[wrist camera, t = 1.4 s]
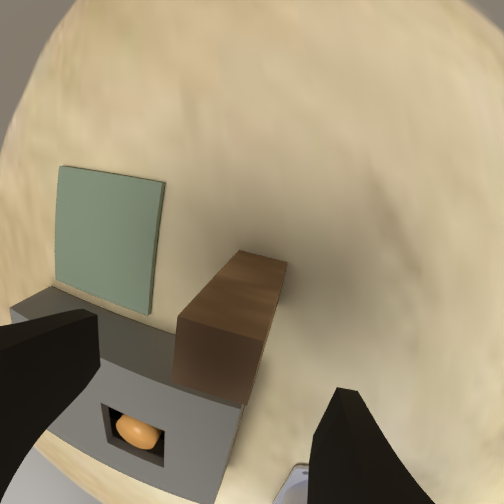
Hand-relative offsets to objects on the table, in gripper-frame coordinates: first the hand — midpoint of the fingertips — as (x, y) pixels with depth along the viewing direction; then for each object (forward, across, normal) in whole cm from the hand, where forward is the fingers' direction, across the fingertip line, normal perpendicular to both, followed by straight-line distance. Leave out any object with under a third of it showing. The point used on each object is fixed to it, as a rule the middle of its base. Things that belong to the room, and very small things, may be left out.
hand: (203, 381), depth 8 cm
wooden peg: (+9, 0, 0) cm, 9 cm away
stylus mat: (+9, +10, 0) cm, 13 cm away
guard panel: (+9, +7, +11) cm, 16 cm away
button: (+6, +5, +11) cm, 14 cm away
